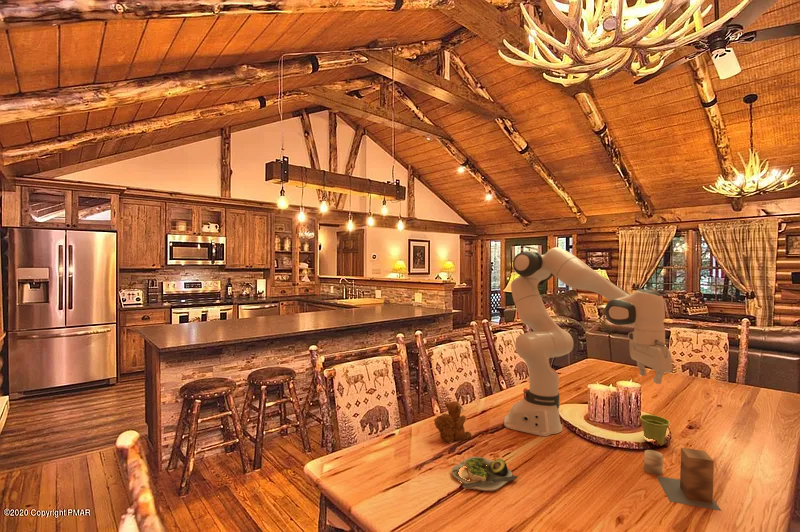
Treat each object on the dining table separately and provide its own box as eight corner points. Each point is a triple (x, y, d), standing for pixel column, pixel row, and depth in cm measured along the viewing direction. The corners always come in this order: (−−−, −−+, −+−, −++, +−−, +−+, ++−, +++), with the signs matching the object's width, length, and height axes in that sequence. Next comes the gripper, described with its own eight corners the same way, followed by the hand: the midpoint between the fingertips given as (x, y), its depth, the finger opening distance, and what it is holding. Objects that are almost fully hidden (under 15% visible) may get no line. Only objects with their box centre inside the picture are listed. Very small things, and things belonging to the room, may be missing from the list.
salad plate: (486, 506, 110) (487, 489, 110) (438, 479, 123) (438, 464, 123) (523, 479, 123) (523, 465, 123) (475, 458, 136) (475, 444, 136)
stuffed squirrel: (473, 436, 152) (473, 402, 152) (451, 449, 142) (452, 412, 142) (451, 428, 159) (452, 395, 159) (429, 440, 149) (430, 405, 148)
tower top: (687, 478, 113) (688, 457, 113) (680, 467, 118) (681, 447, 118) (713, 482, 111) (713, 460, 111) (704, 471, 116) (705, 450, 116)
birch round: (646, 474, 126) (646, 456, 126) (642, 466, 131) (642, 448, 131) (664, 477, 125) (665, 458, 124) (660, 469, 129) (660, 451, 129)
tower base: (687, 498, 113) (687, 478, 113) (680, 487, 119) (680, 467, 118) (712, 503, 111) (713, 482, 111) (704, 491, 117) (704, 471, 116)
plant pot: (674, 449, 143) (674, 425, 143) (645, 447, 145) (645, 423, 145) (662, 438, 152) (663, 415, 152) (635, 435, 154) (636, 413, 154)
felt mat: (669, 502, 112) (669, 501, 112) (655, 476, 125) (655, 475, 125) (721, 512, 108) (721, 510, 108) (701, 484, 121) (701, 483, 121)
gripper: (677, 343, 123) (678, 388, 123) (644, 333, 144) (644, 371, 144) (656, 343, 124) (656, 388, 124) (625, 333, 144) (626, 371, 144)
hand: (649, 379), depth 134 cm, fingers open, 8 cm apart
